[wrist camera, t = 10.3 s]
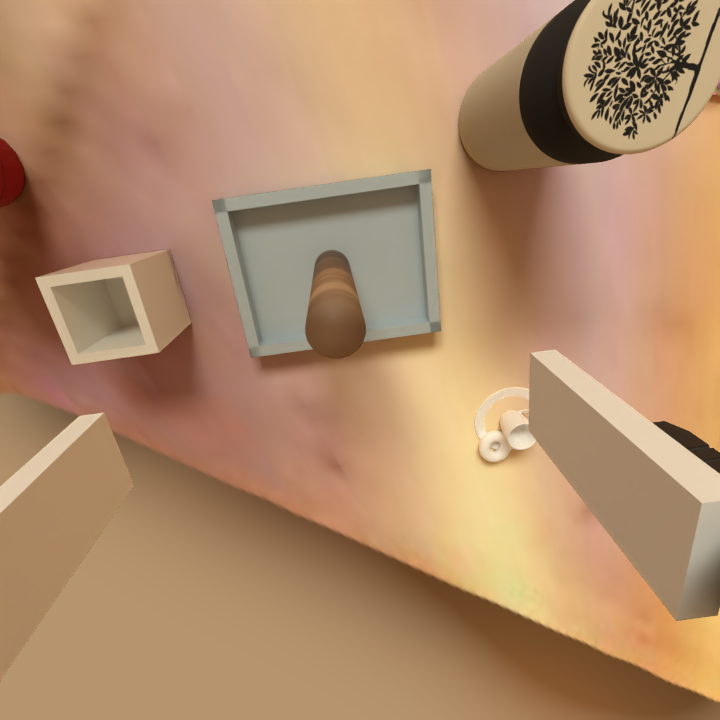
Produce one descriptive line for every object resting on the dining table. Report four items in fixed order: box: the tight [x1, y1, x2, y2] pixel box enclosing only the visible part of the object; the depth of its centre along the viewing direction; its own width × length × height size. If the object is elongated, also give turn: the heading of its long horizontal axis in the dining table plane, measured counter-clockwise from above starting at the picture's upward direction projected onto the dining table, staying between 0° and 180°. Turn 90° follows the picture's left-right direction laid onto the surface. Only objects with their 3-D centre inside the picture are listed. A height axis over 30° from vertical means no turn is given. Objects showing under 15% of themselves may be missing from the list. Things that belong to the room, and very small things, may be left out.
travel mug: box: [459, 0, 720, 171], centre depth 28 cm, size 8×8×18 cm
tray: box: [212, 169, 441, 358], centre depth 39 cm, size 14×18×2 cm
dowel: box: [305, 250, 366, 358], centre depth 31 cm, size 3×3×18 cm
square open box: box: [35, 249, 191, 365], centre depth 36 cm, size 7×7×8 cm
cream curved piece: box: [474, 387, 536, 462], centre depth 46 cm, size 9×8×4 cm
